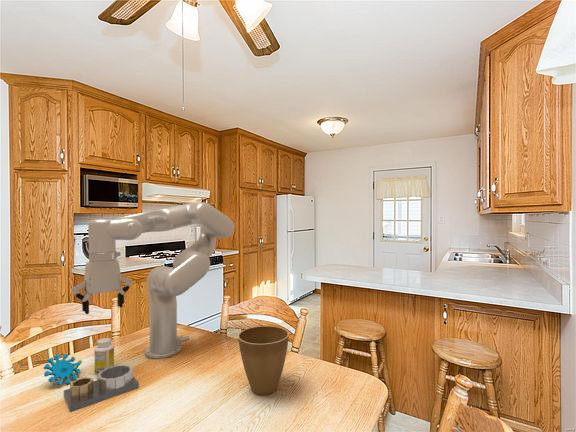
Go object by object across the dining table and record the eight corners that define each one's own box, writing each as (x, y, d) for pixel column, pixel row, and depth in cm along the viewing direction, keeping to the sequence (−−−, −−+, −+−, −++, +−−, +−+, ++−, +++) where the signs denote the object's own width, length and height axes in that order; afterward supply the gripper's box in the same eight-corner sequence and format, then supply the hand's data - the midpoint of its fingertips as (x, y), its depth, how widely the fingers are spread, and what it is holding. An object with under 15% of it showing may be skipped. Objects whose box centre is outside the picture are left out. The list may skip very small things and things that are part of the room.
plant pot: (295, 379, 99) (295, 328, 99) (278, 407, 85) (278, 347, 85) (251, 372, 104) (251, 322, 104) (228, 396, 90) (228, 339, 90)
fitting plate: (128, 375, 102) (128, 361, 102) (139, 387, 95) (138, 372, 95) (63, 395, 90) (63, 379, 90) (70, 411, 83) (69, 394, 83)
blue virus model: (52, 387, 92) (41, 357, 96) (41, 399, 93) (30, 369, 97) (89, 375, 102) (78, 348, 106) (79, 386, 103) (68, 359, 107)
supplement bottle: (111, 365, 108) (111, 335, 108) (116, 371, 104) (116, 340, 104) (92, 371, 105) (92, 339, 105) (96, 377, 101) (96, 345, 100)
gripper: (127, 253, 113) (128, 302, 113) (68, 259, 101) (70, 313, 101) (134, 255, 107) (135, 306, 107) (73, 261, 95) (74, 318, 96)
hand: (104, 309), depth 104 cm, fingers open, 9 cm apart
